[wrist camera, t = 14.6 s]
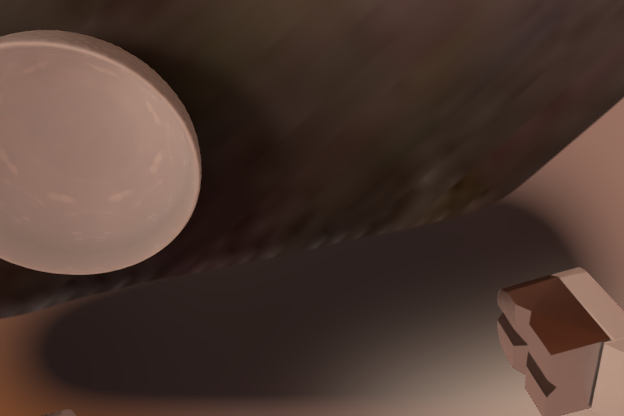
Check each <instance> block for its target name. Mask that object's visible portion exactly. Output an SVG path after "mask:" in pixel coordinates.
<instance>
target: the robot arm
mask: <svg viewBox="0 0 624 416" xmlns="http://www.w3.org/2000/svg"><path fill="white" fill-rule="evenodd" d="M498 305H499V307H500V308H501V310H502V311H503V314H502V315H501V316H500V317H499V319H498V320H497V322H498V334H499V338H500V342H501V346H502V348H503V350H504V352H505V354H506V357H507V358H508V360H509V362H510V363H511V365H512V367H513V368H514V369H516V370H518V371H520V372H522V373H523V374H525V375H526V381H525V389H526V390H527V392H528V394H529V395H530V397H531V398H532V400H533V402H534V403H535V405H536V407H537V408H538V410H539V411H540V413H541V415H542V416H561V415H565V414H569V413H572V412H576V411H580V410H584V409H588V408H591V411H592V412H594V413H595V414H597V415H598V416H624V311H623V310H622V309H621V308H620V307H619V306H618V305H617V304H616V303H615V301H614V300H613V299H612V298H611V297H610V296H609V295H608V294H607V293H606V292H605V291H604V290H603V289H602V288H601V287H600V285H599V284H597V282H596V281H595V280H594V279H593V278H592V277H591V276H590V275H589V274H588V273H587V272H586V270H584V269H582V268H579V267H578V268H575V269H571V270H567V271H564V272H560V273H557V274H553V275H548V276H544V277H541V278H537V279H534V280H530V281H527V282H524V283H520V284H516V285H513V286H510V287H506V288H503V289H500V291H499V293H498ZM43 416H76V415H75V414H74V413H73V412H72V411H71V409H69V410H63V411H59V412H55V413H51V414H47V415H43Z"/></svg>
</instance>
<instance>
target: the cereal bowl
mask: <svg viewBox="0 0 624 416" xmlns="http://www.w3.org/2000/svg"><path fill="white" fill-rule="evenodd" d="M201 170H202V169H201V155H200V149H199V144H198V140H197V135H196V133H195V129H194V126H193V123H192V121H191V119H190V116H189V114H188V113H187V111H186V109H185V106H184V105H183V104H182V102H181V101H180V99H179V98H178V96H177V94H176V93H175V92H174V91H173V90H172V89H171V87H170V86H169V85H168V84H167V82H166V81H164V80H163V79H162V78H161V77H160V75H159V74H157V73H156V72H155V70H153V69H151V68H150V67H149V66H148V65H147V64H146V63H144V62H143V61H142V60H140V59H138V58H137V57H136V56H134V55H132V54H130V53H129V52H127V51H125V50H123V49H122V48H121V47H118V46H115V45H113V44H112V43H108V42H106V41H104V40H101V39H97V38H94V37H91V36H88V35H82V34H79V33H73V32H69V31H60V30H34V31H24V32H18V33H13V34H8V35H5V36H1V37H0V258H1V259H3V260H6V261H8V262H11V263H14V264H17V265H20V266H23V267H26V268H30V269H33V270H38V271H43V272H49V273H57V274H71V275H87V274H99V273H105V272H111V271H115V270H119V269H122V268H126V267H129V266H132V265H135V264H137V263H139V262H141V261H144V260H146V259H147V258H149V257H151V256H153V255H154V254H156V253H158V252H159V251H160V250H162V249H163V248H164V247H166V246H167V245H168V244H169V243H170V242H172V241H173V240H174V239H175V238H176V237H177V236H178V234H179V233H180V232H181V231H182V229H183V228H184V227H185V225H186V224H187V222H188V221H189V219H190V217H191V215H192V213H193V211H194V209H195V206H196V203H197V200H198V196H199V192H200V183H201V177H202V174H201Z"/></svg>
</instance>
